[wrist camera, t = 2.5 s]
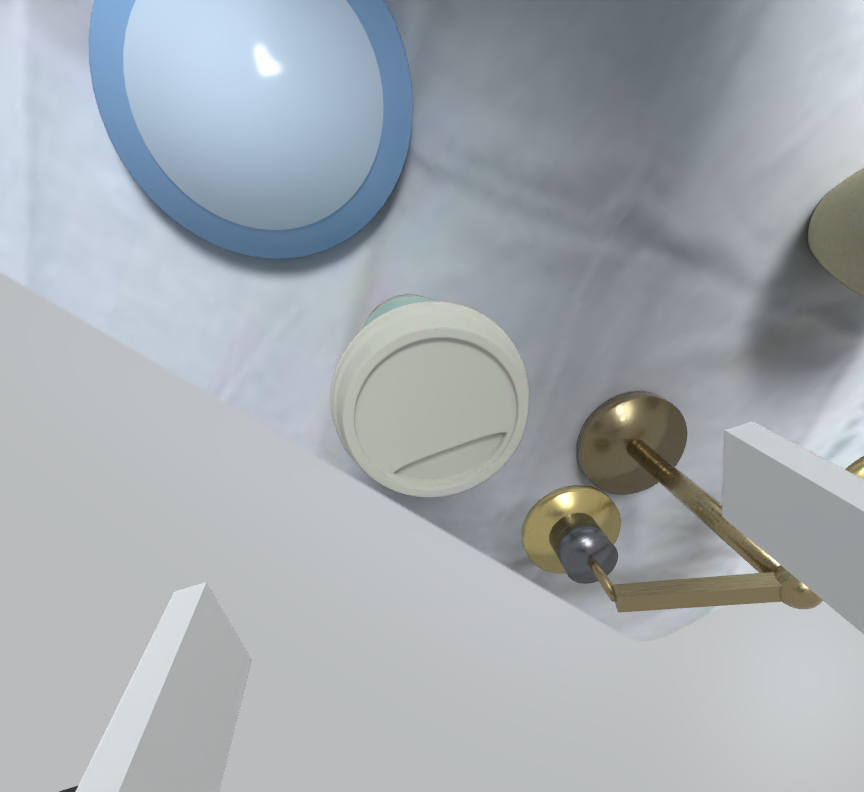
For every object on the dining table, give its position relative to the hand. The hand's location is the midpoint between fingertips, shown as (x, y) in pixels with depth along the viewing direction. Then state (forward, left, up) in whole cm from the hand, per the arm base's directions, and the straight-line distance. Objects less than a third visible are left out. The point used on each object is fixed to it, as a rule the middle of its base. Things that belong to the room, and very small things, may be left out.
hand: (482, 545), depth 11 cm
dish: (-14, -4, -19) cm, 24 cm away
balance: (+12, +14, -19) cm, 27 cm away
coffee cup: (0, 0, -19) cm, 19 cm away
